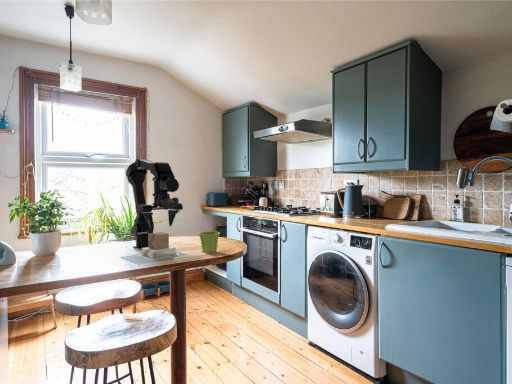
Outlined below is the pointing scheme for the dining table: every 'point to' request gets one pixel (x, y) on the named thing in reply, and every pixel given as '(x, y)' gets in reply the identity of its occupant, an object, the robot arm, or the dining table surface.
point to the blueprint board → (143, 259)
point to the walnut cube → (158, 240)
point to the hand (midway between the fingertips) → (161, 227)
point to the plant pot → (209, 241)
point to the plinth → (158, 252)
